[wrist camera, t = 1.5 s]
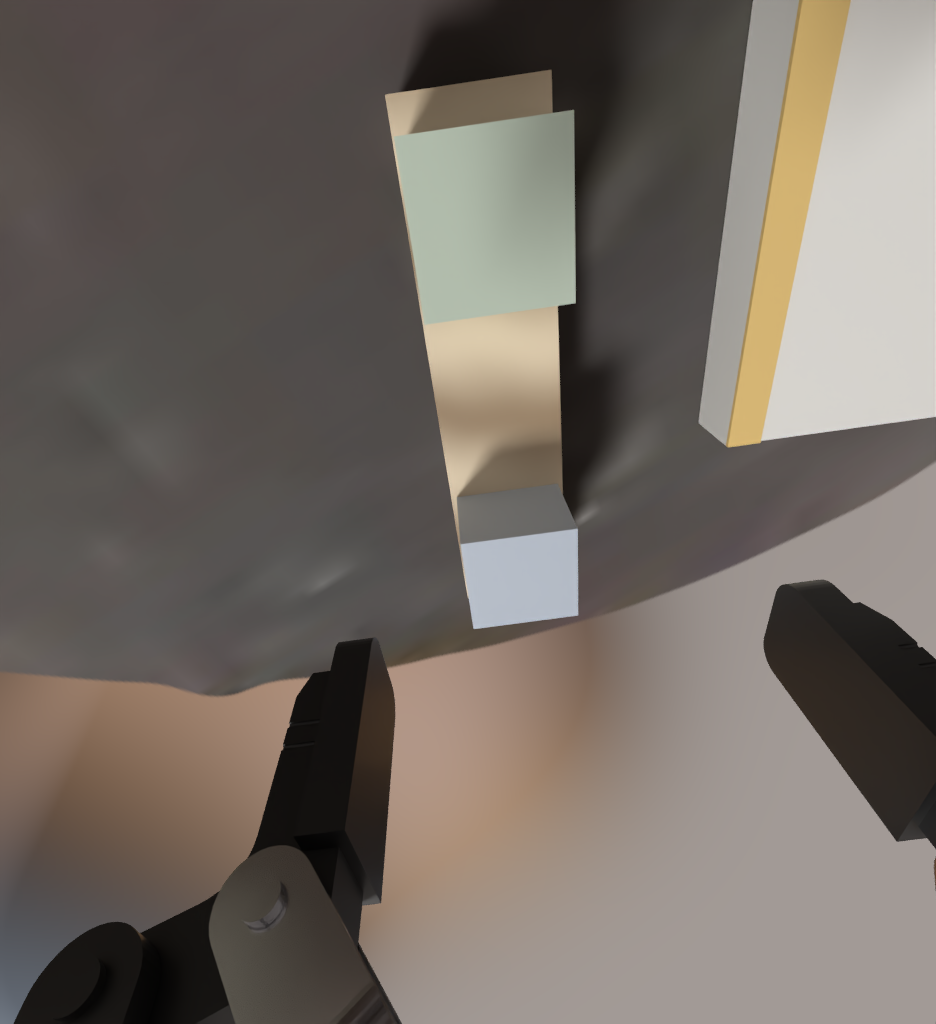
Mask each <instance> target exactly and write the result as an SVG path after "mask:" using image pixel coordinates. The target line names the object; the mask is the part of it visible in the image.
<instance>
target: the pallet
mask: <svg viewBox="0 0 936 1024" xmlns="http://www.w3.org/2000/svg"><path fill="white" fill-rule="evenodd" d="M385 98H386V104H387V110H388V116H389V122H390V128H391V134H392V140H393V147H394V153H395V159H396V165H397V171H398V177H399V183H400V189H401V195H402V201H403V207H404V213H405V219H406V225H407V231H408V238H409V244H410V250H411V256H412V262H413V268H414V274H415V280H416V286H417V292H418V298H419V304H420V310H421V316H422V322H423V329H424V335H425V341H426V347H427V353H428V359H429V365H430V371H431V377H432V383H433V389H434V395H435V401H436V407H437V413H438V420H439V426H440V432H441V438H442V444H443V450H444V456H445V462H446V468H447V474H448V480H449V486H450V492H451V498H452V504H453V511H454V517H455V523H456V529H457V535H458V541H459V547H460V553H461V559H462V565H463V571H464V564H463V558H462V552H461V545H460V534H459V521H458V508H457V497H462V496H469V495H477V494H484V493H492V492H499V491H506V490H514V489H521V488H529V487H536V486H544V485H551V484H558V485H559V488H560V490H561V492H562V494H563V480H562V443H561V405H560V368H559V330H558V306H553V307H546V308H539V309H532V310H525V311H518V312H511V313H504V314H497V315H490V316H483V317H476V318H469V319H462V320H455V321H448V322H441V323H434V324H427V325H424V318H423V312H422V306H421V300H420V294H419V288H418V282H417V275H416V269H415V263H414V257H413V251H412V245H411V239H410V232H409V226H408V220H407V214H406V208H405V202H404V196H403V189H402V183H401V177H400V171H399V165H398V159H397V153H396V146H395V140H394V136H401V135H408V134H414V133H421V132H428V131H435V130H441V129H448V128H455V127H461V126H468V125H475V124H482V123H488V122H495V121H502V120H508V119H515V118H522V117H529V116H535V115H542V114H549V113H553V106H552V70H546V71H539V72H532V73H526V74H519V75H513V76H506V77H499V78H493V79H486V80H479V81H473V82H466V83H459V84H453V85H446V86H439V87H433V88H426V89H420V90H413V91H406V92H400V93H393V94H386V95H385ZM464 577H465V571H464ZM465 583H466V577H465ZM466 589H467V583H466ZM467 595H468V589H467ZM468 597H469V596H468Z"/></svg>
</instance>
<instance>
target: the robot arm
mask: <svg viewBox="0 0 936 1024" xmlns="http://www.w3.org/2000/svg"><path fill="white" fill-rule="evenodd" d="M764 652H765V656H766V659H767V662H768V664H769V666H770V668H771V669H772V671H773V673H774V674H775V675H776V677H777V678H778V679H779V681H780V682H781V683H782V685H783V686H784V688H785V689H786V690H787V692H788V693H789V694H790V696H791V697H792V699H793V700H794V701H795V702H796V704H797V705H798V707H799V708H800V710H801V711H802V712H803V713H804V715H805V716H806V718H807V719H808V720H809V722H810V723H811V725H812V726H813V727H814V728H815V730H816V731H817V733H818V734H819V735H820V737H821V738H822V740H823V741H824V742H825V744H826V745H827V747H828V748H829V749H830V751H831V752H832V753H833V754H834V756H835V757H836V759H837V760H838V761H839V763H840V764H841V766H842V767H843V768H844V770H845V771H846V772H847V774H848V775H849V777H850V778H851V779H852V781H853V782H854V784H855V785H856V786H857V788H858V789H859V790H860V791H861V793H862V794H863V796H864V797H865V798H866V800H867V801H868V803H869V804H870V805H871V807H872V808H873V809H874V811H875V812H876V814H877V815H878V816H879V818H880V819H881V820H882V822H883V823H884V825H885V826H886V827H887V829H888V830H889V831H890V833H891V834H892V835H893V837H894V838H895V840H896V841H906V840H914V839H922V838H928V839H929V841H930V842H931V843H932V845H933V846H934V847H935V848H936V659H935V658H934V657H933V656H932V655H930V654H929V653H928V652H927V651H926V650H925V649H924V648H923V647H920V648H919V647H918V645H917V642H916V641H915V640H914V639H913V638H912V637H910V636H909V635H908V634H907V633H906V632H905V631H903V629H902V628H900V627H899V626H898V625H897V624H896V623H895V622H894V621H892V620H891V619H889V618H887V617H886V616H884V615H882V614H880V613H878V612H876V611H875V610H873V609H871V608H869V607H867V606H866V605H864V604H862V603H860V602H859V603H852V602H851V601H850V600H849V599H848V598H847V597H846V596H845V595H844V594H843V593H842V592H841V591H840V590H839V589H838V588H836V587H835V586H834V585H833V584H832V583H830V582H829V581H826V580H815V581H807V582H800V583H793V584H785V585H781V586H780V587H779V588H778V589H777V591H776V595H775V599H774V602H773V606H772V610H771V614H770V617H769V621H768V625H767V629H766V633H765V636H764ZM289 723H290V727H289V728H288V729H287V733H286V736H285V740H284V743H283V747H284V748H283V750H282V751H281V754H280V758H279V761H278V765H277V768H276V772H275V775H274V779H273V782H272V786H271V790H270V793H269V797H268V800H267V804H266V807H265V811H264V815H263V818H262V822H261V825H260V829H259V832H258V836H257V839H256V841H255V844H254V847H253V849H252V851H251V853H250V855H249V857H248V858H247V859H246V860H245V861H244V862H243V863H241V864H240V865H239V866H238V867H237V868H236V869H235V870H234V871H233V873H232V874H231V875H230V876H229V878H228V879H227V880H226V882H225V883H224V885H223V886H222V888H221V890H220V891H219V892H217V893H216V894H215V895H214V896H212V897H210V898H209V899H208V900H206V901H204V902H202V903H200V904H199V905H196V906H194V907H192V908H190V909H188V910H186V911H184V912H182V913H180V914H179V915H176V916H174V917H172V918H170V919H168V920H166V921H164V922H162V923H160V924H158V925H156V926H154V927H152V928H150V929H148V930H146V931H144V932H142V933H139V932H138V931H137V930H136V929H135V928H133V927H132V926H131V925H128V924H126V923H122V922H111V923H106V924H103V925H99V926H97V927H95V928H92V929H91V930H89V931H87V932H85V933H84V934H82V935H80V936H79V937H77V938H76V939H75V940H73V941H72V942H71V943H69V944H68V945H67V946H66V947H65V948H64V949H63V950H62V951H61V952H60V953H58V955H57V956H56V957H55V958H54V959H53V960H52V961H51V962H50V963H49V964H48V966H47V967H46V968H45V969H44V971H43V972H42V973H41V975H40V976H39V977H38V979H37V980H36V982H35V983H34V985H33V986H32V988H31V990H30V992H29V993H28V995H27V997H26V999H25V1001H24V1003H23V1005H22V1007H21V1009H20V1011H19V1013H18V1015H17V1018H16V1020H15V1022H14V1024H402V1023H401V1021H400V1019H399V1017H398V1015H397V1013H396V1011H395V1010H394V1008H393V1006H392V1004H391V1002H390V1000H389V998H388V996H387V995H386V993H385V991H384V989H383V987H382V986H381V984H380V981H379V980H378V978H377V976H376V974H375V972H374V970H373V968H372V967H371V965H370V963H369V961H368V959H367V957H366V955H365V954H364V952H363V950H362V948H361V946H360V944H359V942H358V940H359V929H360V920H361V911H362V905H370V904H378V903H381V896H382V883H383V870H384V857H385V843H386V831H387V818H388V805H389V792H390V779H391V766H392V752H393V740H394V727H395V699H394V692H393V687H392V684H391V681H390V677H389V674H388V671H387V667H386V664H385V661H384V658H383V654H382V651H381V648H380V645H379V642H378V640H377V638H368V639H361V640H353V641H346V642H339V643H338V644H337V646H336V649H335V653H334V657H333V662H332V666H331V671H326V672H318V673H313V674H312V676H311V677H310V679H309V680H308V681H307V683H306V684H305V686H304V687H303V688H302V690H301V691H300V693H299V694H298V696H297V697H296V701H295V704H294V708H293V711H292V715H291V718H290V722H289ZM934 875H935V889H936V858H935V860H934Z"/></svg>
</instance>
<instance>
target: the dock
mask: <svg viewBox="0 0 936 1024" xmlns="http://www.w3.org/2000/svg"><path fill="white" fill-rule="evenodd" d="M930 417H936V0H753V4H752V12H751V20H750V27H749V35H748V43H747V51H746V58H745V66H744V74H743V82H742V89H741V97H740V105H739V112H738V120H737V128H736V136H735V143H734V151H733V159H732V167H731V174H730V182H729V190H728V198H727V205H726V213H725V221H724V229H723V236H722V244H721V252H720V260H719V267H718V275H717V283H716V290H715V298H714V306H713V314H712V321H711V329H710V337H709V345H708V352H707V360H706V368H705V376H704V383H703V391H702V399H701V407H700V414H699V422H698V423H699V424H700V425H702V426H703V427H704V428H705V429H706V430H708V431H709V432H710V433H711V434H712V435H714V436H715V437H716V438H717V439H718V440H720V441H721V442H722V443H723V444H724V445H726V446H727V447H734V446H741V445H748V444H756V443H761V441H763V440H770V439H778V438H785V437H792V436H799V435H807V434H814V433H821V432H828V431H836V430H843V429H850V428H857V427H865V426H872V425H879V424H886V423H893V422H901V421H908V420H915V419H922V418H930Z"/></svg>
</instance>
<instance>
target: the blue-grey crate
mask: <svg viewBox="0 0 936 1024" xmlns="http://www.w3.org/2000/svg"><path fill="white" fill-rule="evenodd" d="M457 508H458V521H459V534H460V545H461V552H462V558H463V564H464V571H465V577H466V583H467V589H468V596H469V602H470V608H471V615H472V621H473V627H474V629H478V628H485V627H493V626H501V625H508V624H516V623H523V622H531V621H539V620H546V619H554V618H562V617H569V616H577V615H578V528H577V526H576V524H575V522H574V519H573V517H572V515H571V513H570V510H569V508H568V506H567V504H566V501H565V499H564V497H563V494H562V492H561V490H560V488H559V485H558V484H551V485H544V486H536V487H529V488H521V489H514V490H506V491H499V492H492V493H484V494H477V495H469V496H462V497H457Z"/></svg>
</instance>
